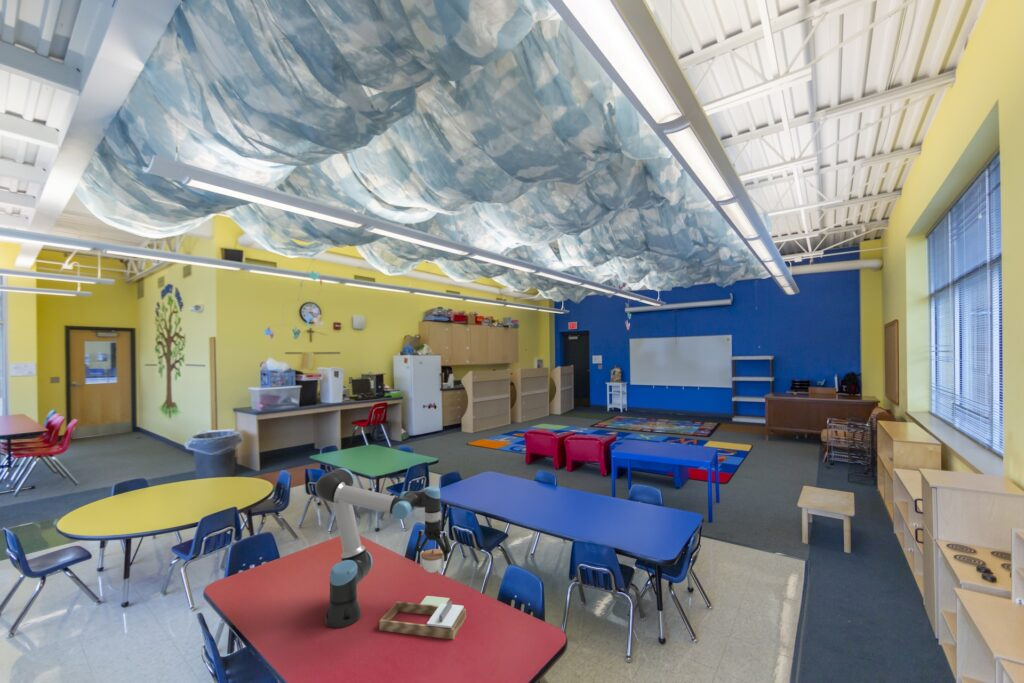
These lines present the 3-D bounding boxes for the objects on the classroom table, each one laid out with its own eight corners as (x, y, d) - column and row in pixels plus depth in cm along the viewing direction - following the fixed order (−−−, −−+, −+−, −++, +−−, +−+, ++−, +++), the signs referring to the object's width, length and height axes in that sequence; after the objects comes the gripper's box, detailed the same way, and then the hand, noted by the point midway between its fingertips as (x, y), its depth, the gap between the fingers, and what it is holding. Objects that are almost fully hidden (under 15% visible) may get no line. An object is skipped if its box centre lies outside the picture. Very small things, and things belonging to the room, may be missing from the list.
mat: (416, 610, 203) (416, 608, 203) (426, 596, 215) (426, 595, 215) (440, 612, 201) (440, 611, 201) (449, 599, 212) (449, 598, 212)
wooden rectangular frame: (379, 630, 188) (379, 620, 188) (397, 609, 204) (397, 601, 204) (453, 639, 181) (453, 629, 181) (465, 617, 196) (465, 608, 197)
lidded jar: (439, 576, 202) (439, 555, 203) (417, 574, 204) (417, 553, 205) (447, 565, 213) (447, 546, 213) (426, 564, 215) (426, 544, 216)
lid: (426, 625, 184) (426, 617, 184) (440, 605, 199) (440, 597, 199) (451, 628, 181) (451, 619, 181) (463, 607, 197) (463, 599, 197)
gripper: (407, 521, 209) (407, 568, 208) (452, 524, 204) (452, 572, 203) (414, 515, 216) (414, 561, 215) (457, 518, 211) (458, 565, 210)
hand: (432, 566), depth 209 cm, fingers closed on lidded jar, 11 cm apart
